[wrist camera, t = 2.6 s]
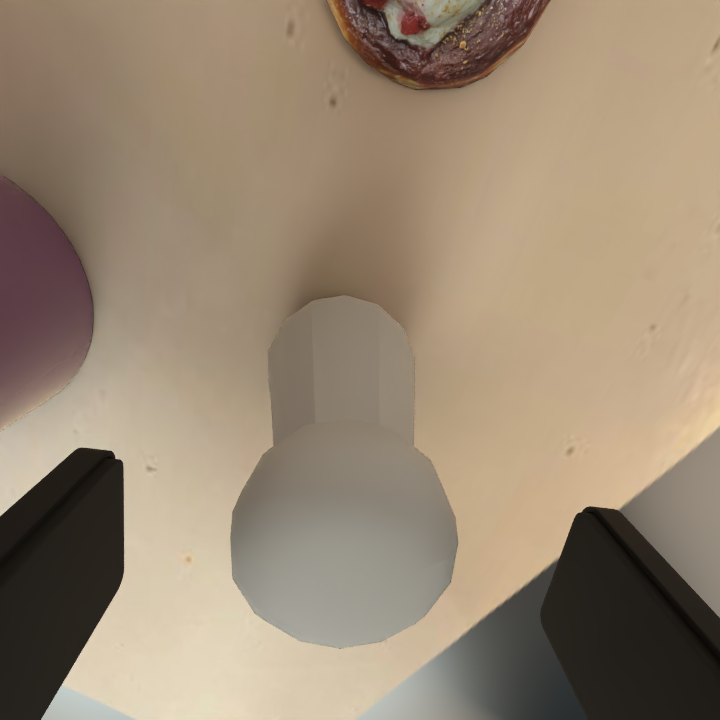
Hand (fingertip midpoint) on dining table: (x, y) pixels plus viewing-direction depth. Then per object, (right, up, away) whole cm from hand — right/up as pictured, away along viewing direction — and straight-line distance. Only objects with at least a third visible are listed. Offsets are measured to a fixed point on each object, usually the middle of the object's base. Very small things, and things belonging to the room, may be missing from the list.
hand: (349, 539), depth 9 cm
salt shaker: (-1, +4, +11) cm, 12 cm away
